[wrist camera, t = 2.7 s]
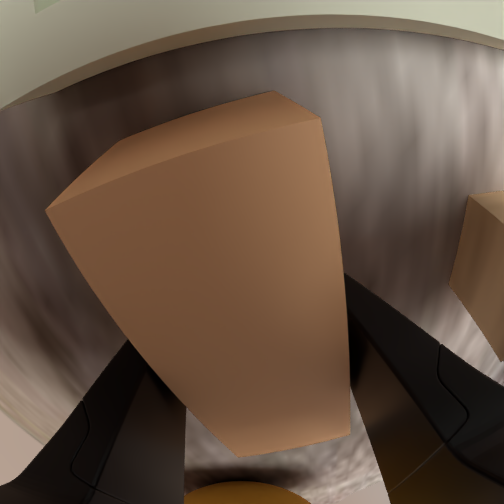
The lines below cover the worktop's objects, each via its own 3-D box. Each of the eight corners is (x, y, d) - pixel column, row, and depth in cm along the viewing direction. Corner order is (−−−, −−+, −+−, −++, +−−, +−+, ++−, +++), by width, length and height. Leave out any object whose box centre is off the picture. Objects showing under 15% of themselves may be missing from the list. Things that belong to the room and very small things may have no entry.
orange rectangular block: (274, 90, 6) (320, 118, 3) (326, 351, 11) (350, 434, 8) (118, 141, 6) (45, 210, 3) (232, 373, 11) (238, 457, 8)
